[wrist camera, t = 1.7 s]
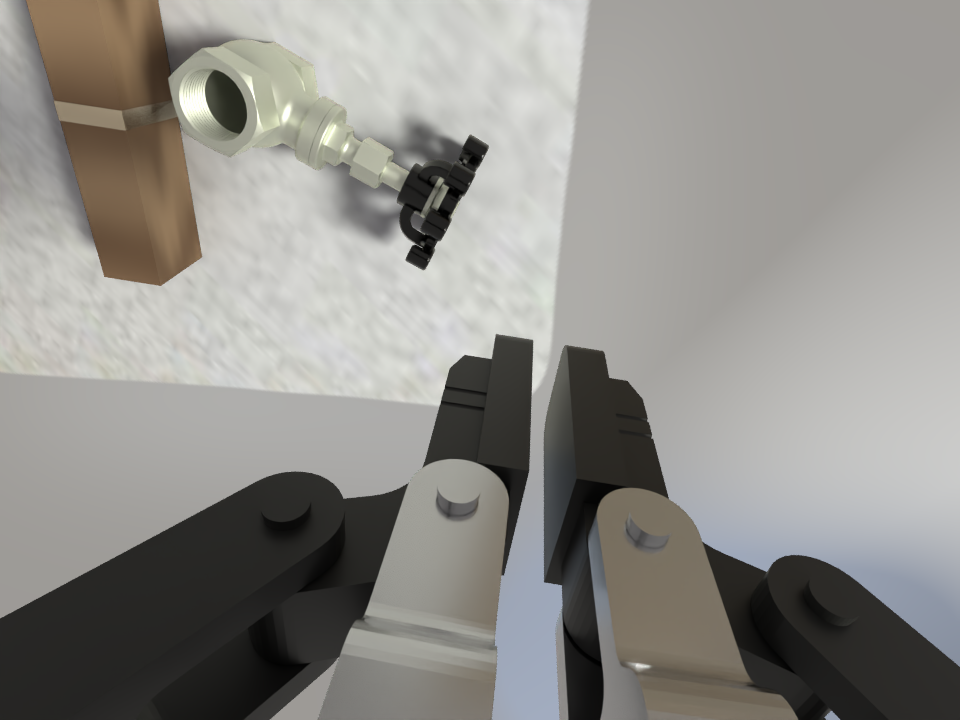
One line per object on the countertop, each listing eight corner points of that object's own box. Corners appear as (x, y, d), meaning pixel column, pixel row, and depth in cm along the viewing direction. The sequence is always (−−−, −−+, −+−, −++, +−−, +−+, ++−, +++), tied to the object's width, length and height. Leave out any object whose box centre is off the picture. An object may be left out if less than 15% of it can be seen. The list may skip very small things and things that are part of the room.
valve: (227, 128, 27) (436, 244, 29) (146, 155, 22) (411, 296, 24) (262, -10, 24) (495, 132, 26) (177, -20, 18) (482, 163, 20)
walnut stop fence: (72, -109, 22) (-13, -132, 19) (141, -99, 22) (68, -121, 19) (152, 249, 31) (103, 277, 28) (202, 256, 31) (160, 286, 28)
